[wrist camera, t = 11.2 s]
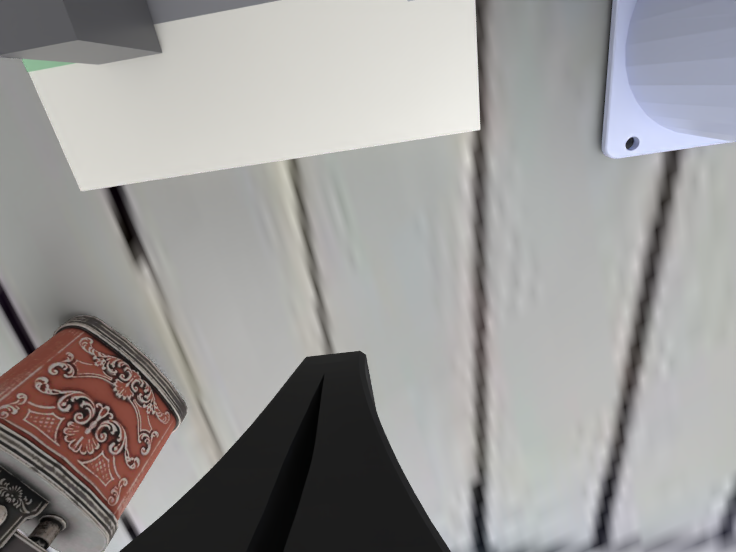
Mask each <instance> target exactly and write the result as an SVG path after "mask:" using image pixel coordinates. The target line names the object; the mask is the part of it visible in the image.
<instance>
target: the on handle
mask: <svg viewBox="0 0 736 552" xmlns="http://www.w3.org/2000/svg"><path fill="white" fill-rule="evenodd" d="M160 53H162V49H161V46H160V43H159V40H158V37H157V34H156V30H155V27H154V24H153V21H152V18H151V14H150V11H149V8H148V5H147V2H146V0H0V57H5V58H18V59H31V60H44V61H57V62H70V63H83V64H96V65H100V64H105V63H111V62H116V61H122V60H127V59H133V58H138V57H143V56H149V55H154V54H160Z"/></svg>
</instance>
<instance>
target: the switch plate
mask: <svg viewBox="0 0 736 552" xmlns="http://www.w3.org/2000/svg"><path fill="white" fill-rule="evenodd" d="M146 2H147V5H148V8H149V11H150V14H151V18H152V21H153V24H154V27H155V30H156V34H157V37H158V40H159V43H160V46H161V49H162V53H160V54H154V55H149V56H143V57H138V58H133V59H127V60H122V61H116V62H111V63H105V64H100V65H96V64H83V63H70V62H57V61H44V60H31V59H22V61H23V63H24V66H25V68H26V70H27V72H29V75H30V77H31V79H32V81H33V84H34V86H35V88H36V90H37V93H38V95H39V97H40V100H41V102H42V104H43V106H44V109H45V111H46V113H47V115H48V118H49V120H50V122H51V125H52V127H53V129H54V131H55V134H56V136H57V138H58V140H59V143H60V145H61V147H62V150H63V152H64V154H65V156H66V159H67V161H68V163H69V165H70V168H71V170H72V172H73V175H74V177H75V179H76V181H77V184H78V186H79V188H80V190H81V191H87V190H93V189H100V188H106V187H113V186H119V185H126V184H132V183H139V182H145V181H152V180H158V179H165V178H171V177H178V176H184V175H191V174H197V173H204V172H210V171H217V170H223V169H230V168H236V167H243V166H249V165H255V164H262V163H268V162H275V161H281V160H288V159H294V158H301V157H307V156H314V155H320V154H327V153H333V152H340V151H346V150H353V149H359V148H366V147H372V146H379V145H385V144H392V143H398V142H405V141H411V140H417V139H424V138H430V137H437V136H443V135H450V134H456V133H463V132H469V131H476V130H480V111H479V85H478V60H477V34H476V8H475V0H146Z"/></svg>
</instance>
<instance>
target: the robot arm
mask: <svg viewBox="0 0 736 552" xmlns="http://www.w3.org/2000/svg"><path fill="white" fill-rule="evenodd" d="M631 137H633V138H634V143H633V145H632V146H631V147H630V148H629V149H626V146H625V144H626V141H627V140H628V139H629V138H631ZM728 142H736V0H613V4H612V17H611V30H610V43H609V56H608V69H607V82H606V95H605V108H604V121H603V134H602V152H603V153H604V155H606V156H608V157H610V158H624V157H631V156H638V155H645V154H652V153H659V152H666V151H673V150H680V149H687V148H694V147H701V146H707V145H714V144H721V143H728ZM120 552H451V551H450V550H449V548H448V547H447V545H446V543H445V542H444V540H443V539H442V537H441V536H440V534H439V533H438V531H437V530H436V528H435V527H434V525H433V523H432V522H431V520H430V519H429V517H428V515H427V513H426V512H425V510H424V508H423V507H422V505H421V503H420V501H419V500H418V498H417V496H416V495H415V493H414V491H413V489H412V487H411V485H410V484H409V482H408V480H407V478H406V476H405V474H404V472H403V471H402V469H401V467H400V465H399V463H398V461H397V459H396V456H395V454H394V452H393V450H392V448H391V446H390V444H389V441H388V439H387V437H386V435H385V432H384V430H383V427H382V425H381V423H380V420H379V417H378V415H377V412H376V407H375V402H374V396H373V391H372V385H371V380H370V375H369V369H368V364H367V358H366V355H365V354H364V353H362V352H361V351H355V352H346V353H337V354H328V355H319V356H310V357H306V358H305V359H304V360H303V362H302V363H301V364H300V365H299V366H298V368H297V369H296V370H295V371H294V373H293V374H292V375H291V377H290V378H289V379H288V380H287V382H286V383H285V384H284V386H283V387H282V388H281V389H280V391H279V392H278V393H277V394H276V396H275V397H274V398H273V399H272V401H271V402H270V403H269V404H268V406H267V407H266V408H265V409H264V410H263V412H262V413H261V414H260V415H259V416H258V418H257V419H256V420H255V421H254V422H253V424H252V425H251V426H250V427H249V428H248V429H247V431H246V432H245V433H244V434H243V435H242V436H241V437H240V438H239V439H238V441H237V442H236V443H235V444H234V445H233V446H232V447H231V448H230V449H229V451H228V452H227V453H226V454H225V455H224V456H223V457H222V458H221V459H220V460H219V461H218V462H217V464H216V465H215V466H214V467H213V468H212V469H211V470H210V471H209V472H208V473H207V474H206V475H205V476H204V477H203V478H202V479H201V480H200V481H199V482H198V483H197V484H196V485H194V486H193V487H192V488H191V489H190V490H189V491H188V492H187V493H186V494H185V495H184V496H183V497H182V498H181V499H180V500H179V501H177V502H176V503H175V504H174V505H173V506H172V507H171V508H170V509H169V510H168V511H167V512H165V513H164V514H163V515H162V516H161V517H160V518H159V519H157V520H156V521H155V522H154V523H153V524H152V525H150V526H149V527H148V528H147V529H146V530H144V531H143V532H142V533H141V534H140V535H139V536H137V537H136V538H135V539H134V540H133V541H131V542H130V543H129V544H128V545H127V546H125V547H124V548H123V549H122V550H121V551H120Z"/></svg>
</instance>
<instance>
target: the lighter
mask: <svg viewBox="0 0 736 552" xmlns="http://www.w3.org/2000/svg"><path fill="white" fill-rule="evenodd" d="M186 414H187V406H186V404H185V402H184V401H183V399H182V398H181V396H180V395H179V394H178V392H177V391H176V390H175V388H174V387H173V385H172V384H171V383H170V381H169V380H168V379H167V378H166V377H165V376H164V375H163V374H162V372H161V371H160V370H159V369H158V368H157V367H156V366H155V365H154V363H153V362H152V361H151V360H150V359H149V358H148V357H146V356H145V355H144V354H143V353H142V352H141V351H140V350H139V349H137V348H136V347H135V346H134V345H133V344H132V343H131V342H130V341H128V340H127V339H126V338H125V337H123V336H122V335H121V334H119V333H118V332H116V331H115V330H114V329H112V328H111V327H110V326H108V325H107V324H106V323H104V322H103V321H102V320H100V319H98V318H96V317H93V316H89V315H79V316H76V317H74V318H71V319H70V320H68V321H67V322H66V323H64V324H63V325H62V326H60V327H59V328H58V329H57V330H56V331H55V332H54V335H53V337H52V338H51V339H49V340H48V341H47V342H45V343H44V344H43V345H41V346H40V347H39V348H37V349H36V350H35V351H34V352H32V353H31V354H30V355H28V356H27V357H26V358H24V359H23V360H22V361H20V362H19V363H18V364H16V365H15V366H14V367H12V368H11V369H10V370H8V371H7V372H6V373H4V374H3V375H2V376H1V377H0V552H48V551H46V550H45V549H47V548H48V547H49V546H50V547H52V548H54V549H55V550H57V551H59V552H103V551H105V549H106V547H107V546H108V544H109V542H110V541H111V539H112V537H113V536H114V534H115V532H116V530H117V529H118V519H119V518H120V516H121V514H122V513H123V511H124V510H125V508H126V506H127V505H128V503H129V501H130V500H131V498H132V496H133V495H134V493H135V492H136V490H137V488H138V487H139V485H140V483H141V482H142V480H143V479H144V477H145V475H146V474H147V472H148V470H149V469H150V467H151V465H152V464H153V462H154V461H155V459H156V457H157V456H158V454H159V452H160V451H161V449H162V447H163V446H164V444H165V443H166V441H167V439H168V438H169V436H170V434H172V433H173V432H175V431H176V430H177V429H178V428H179V426H180V424H181V423H182V421H183V419H184V418H185V416H186ZM17 529H20V530H21V531H23V532H24V533H26V534H28V535H29V537H28V538H27V537H26V536H25V535H23V534H22V533H20V532H19V531H17Z"/></svg>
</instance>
